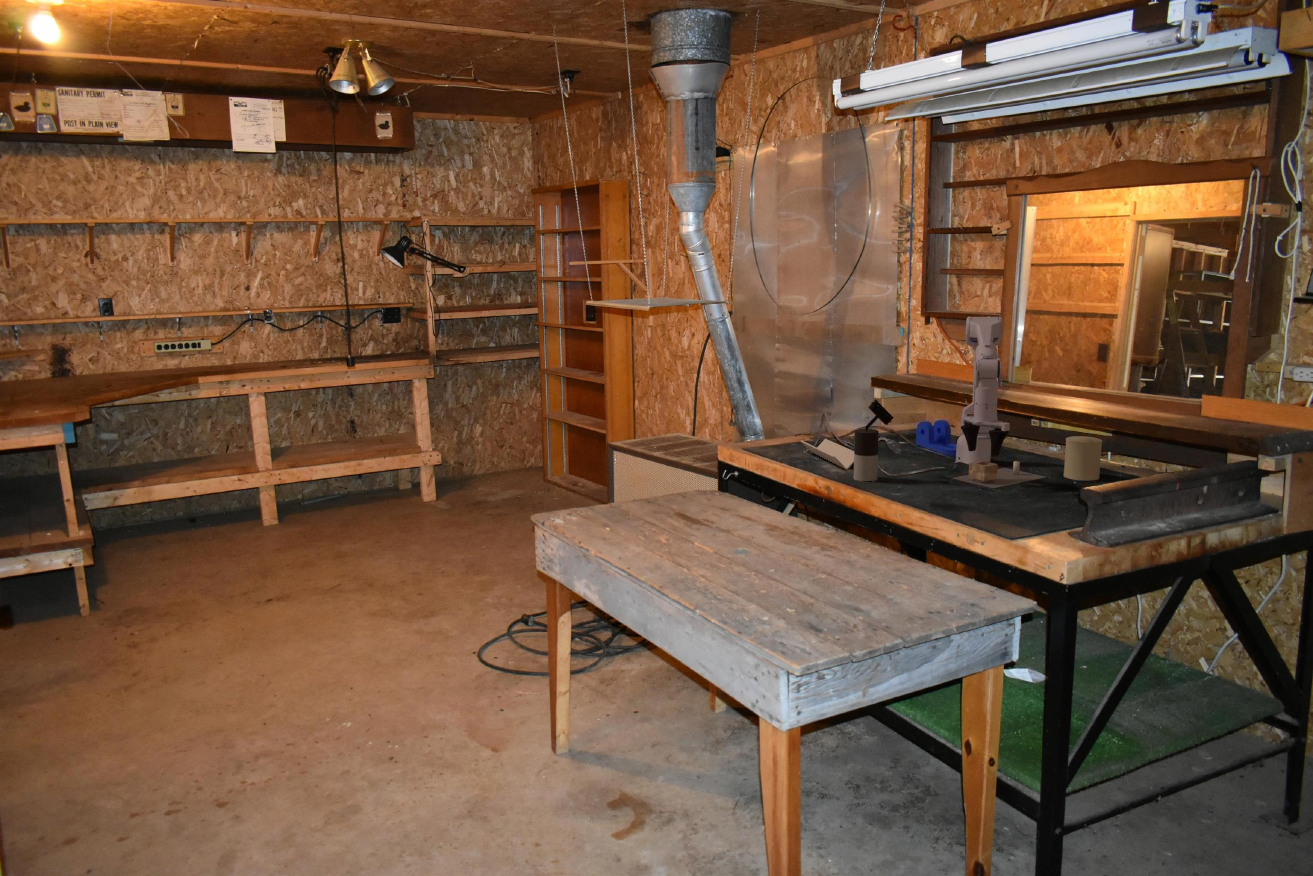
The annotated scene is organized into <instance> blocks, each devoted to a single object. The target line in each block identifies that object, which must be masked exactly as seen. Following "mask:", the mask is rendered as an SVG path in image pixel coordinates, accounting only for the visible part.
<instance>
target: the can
mask: <svg viewBox="0 0 1313 876" xmlns="http://www.w3.org/2000/svg"><path fill="white" fill-rule="evenodd" d="M1102 446H1103V439H1101V438H1097V437H1094V436H1082V435H1080V436H1079V435H1076V436H1075V435H1074V436H1068V437H1066V438H1065V452H1064V453H1065V454H1064V465H1063V466H1064V468H1063V477H1064V478H1067V479H1070V480H1076V481H1086V482H1087V481H1097V480H1099V479H1100V474H1101V472H1100V471H1101V470H1100V469H1101V459H1102V458H1101V456H1102Z"/></svg>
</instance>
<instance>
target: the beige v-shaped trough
mask: <svg viewBox="0 0 1313 876" xmlns="http://www.w3.org/2000/svg"><path fill="white" fill-rule="evenodd" d="M800 442H801V444H803V446H805V447H806V448H807V450H808V451H810V452H811V454H813V453H814V455H815V454H816V456H817V455H818V456H817V457H819V456H820V457H819V458H821V457H822V458H821V459H823V458H824V460H825V459H826V461H827V460H828V461H827V462H829V461H830V463H831V462H832V464H833V463H834V465H835V464H836V466H838V467H840V468H842V469H844V470H846V469H848V470H849V469H850V468H851V466H852V465H854V450H852V449H849V448H847V447H845V446H843V445H840V444H839V443H836V442H834V441H832V440H829V439H827V438H824V439H823V441H822V442H821V443H820V444H819V445H818V446H817V447H816V446H813V445H812V444H810V443H808V442H806V441H803V440H800Z"/></svg>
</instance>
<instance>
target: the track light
mask: <svg viewBox="0 0 1313 876" xmlns="http://www.w3.org/2000/svg"><path fill="white" fill-rule="evenodd" d="M867 408H868V409H869V410H870V412H872V413H873V414H874V415H875V416H874V417H873V418H872V419H871V420H870V421H869V422H868V423H867V424H866V426H865V428H858V429H855V430H854V439H853V440H854V442H853V444H854V446H853V447H854V448H853V451H854V463H853V480H854V481H857V480H858V482H863V481H872V482H876V481H878V473H879V472H878V470H879V469H878V466H879V464H878V463H879V438H880V437H879V434H880V433H879V430H878V429H873V428H871V426H873V425H874V424H875V422H876V421H877V420H878V419H879V420H880V421H881V422H882V423H883V424H884V425H886V426H888V425H889V424H890V423H892V420H893V419H894V416H893V415H892V414H891V413H890V412H889V411H888V410H887V409H886V408H885V407H884V406H883V405H882V404H881V402H879V401H878V400H877V399H874V400H873V401H871V402H870V405H869V406H868V407H867ZM875 480H876V481H875Z"/></svg>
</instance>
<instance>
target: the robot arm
mask: <svg viewBox="0 0 1313 876" xmlns="http://www.w3.org/2000/svg"><path fill="white" fill-rule="evenodd" d="M1003 323H1004V320H1003V317H1002V316H1000V315H999V316H967V318H966V322H965V342H966V345H967V346H969V347H970V348H972V350H973V354H974V355H973V379H972V380H973V381H972V383H973V384H972V401H971V403H970V404H968V405H967V406H964V408H963V410H962V415H961V417H960V425H961V426H960V431H961V435H960V436H959V437H958V439H957V441H956V442H957V443H956V444H957V449H956V456H955V462H953V463H963V464H966V465H969V463H973V462H978V461H986V462H990V463H991V457H998V456H999V455H1000V451H1001V449H1002V448H1001V447H1002V445H1003V443H1004V441H1005V439H1006V438H1007V436H1008V435H1009V433H1010V428H1011V427H1010V426H1011V423H1009V422H1006V421H1005V422H1004V421H1002V420H998V394H999V393H998V392H999V381H1000V379H1001V376H1002V362H1001V358H999V353H998V346H999V344H1000V342H1001V339H1002V336H1003V329H1004V327H1003V325H1004V324H1003ZM997 379H998V380H997Z"/></svg>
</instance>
